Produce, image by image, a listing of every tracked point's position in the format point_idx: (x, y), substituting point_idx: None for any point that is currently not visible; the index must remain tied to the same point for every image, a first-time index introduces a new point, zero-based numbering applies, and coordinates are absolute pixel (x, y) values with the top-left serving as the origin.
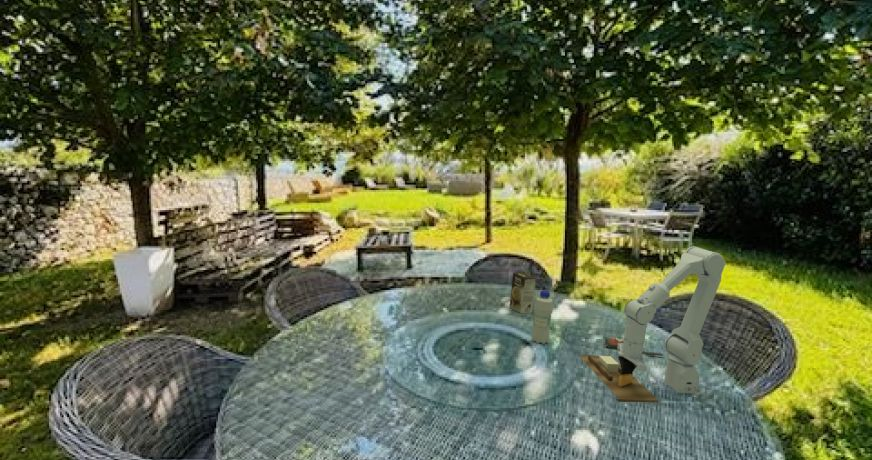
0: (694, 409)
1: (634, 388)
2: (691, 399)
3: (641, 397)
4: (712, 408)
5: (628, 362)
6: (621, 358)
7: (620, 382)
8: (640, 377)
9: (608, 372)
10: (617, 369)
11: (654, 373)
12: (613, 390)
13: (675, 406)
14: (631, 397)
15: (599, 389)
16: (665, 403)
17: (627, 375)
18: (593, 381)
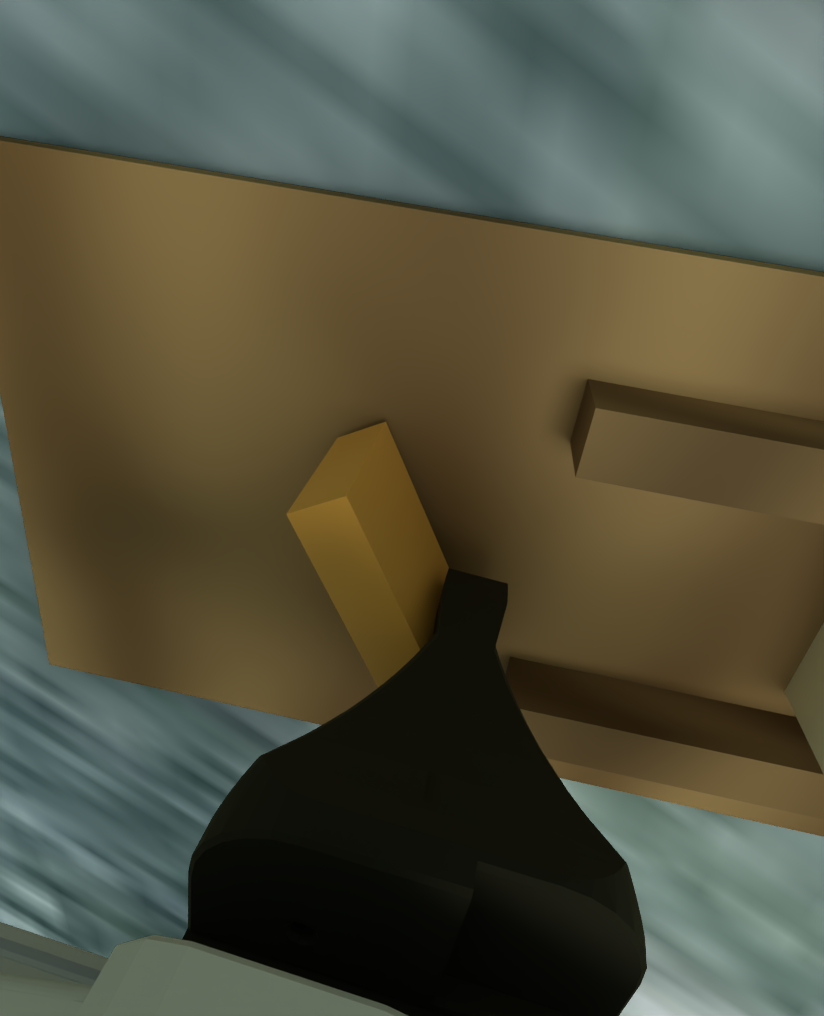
0: (7, 825)
1: (311, 601)
2: (170, 911)
3: (77, 526)
4: (51, 927)
5: (194, 885)
6: (397, 891)
7: (338, 458)
8: (624, 851)
9: (744, 495)
10: (810, 724)
11: (662, 998)
12: (247, 233)
13: (26, 735)
14: (52, 391)
15: (400, 18)
16: (67, 696)
17: (359, 652)
18: (728, 95)
